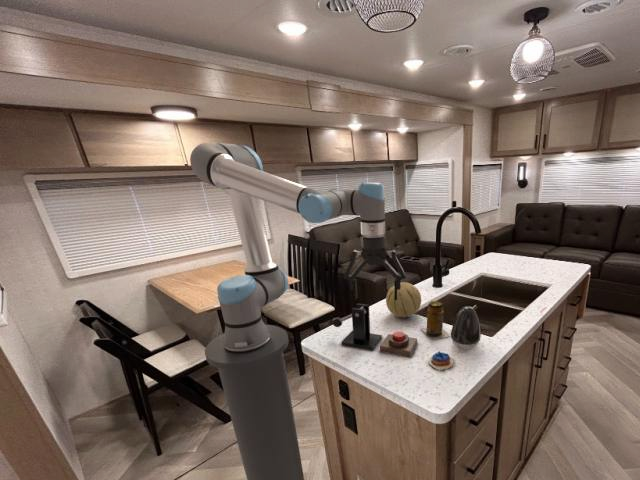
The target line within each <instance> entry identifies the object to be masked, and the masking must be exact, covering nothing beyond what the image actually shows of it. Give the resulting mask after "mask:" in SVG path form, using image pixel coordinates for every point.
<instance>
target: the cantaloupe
mask: <svg viewBox="0 0 640 480" xmlns="http://www.w3.org/2000/svg"><path fill="white" fill-rule="evenodd" d="M421 295H422V294H421V293H420V290H419V289H418V287H416V286H415V285H414V284H412V283H410V282H405V281H404V282H400V290H397V300H395V285H392V286H391V287H390V288H389V289H388V291H387V292H386V297H385V305H386V307H387V309H388V311H389V312H390V313H391V314H392V315H394V316H396V317H398V318H409V317H412V316H413V315H415V314H416V313H417V312H419V310H420V308H421V304H422V296H421Z"/></svg>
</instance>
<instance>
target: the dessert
mask: <svg viewBox="0 0 640 480" xmlns="http://www.w3.org/2000/svg"><path fill="white" fill-rule="evenodd" d="M428 362H429V365H430V366H431V367H433V368H434V369H436V370H438V371H443V370H446V369H450V368H451V367H453V366H454V360H453V359H452V358H451V357H450V355H449V353H446V352H441V351H440V350H438V352H435V353H434V354H433V355H432V356H430V357H429V359H428Z"/></svg>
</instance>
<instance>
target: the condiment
mask: <svg viewBox="0 0 640 480" xmlns="http://www.w3.org/2000/svg"><path fill="white" fill-rule="evenodd" d="M443 324H444V305H443V303H442V302H441V301H437V300H433V301H432V300H431V301H430V302H429V303H428V308H427V312H426V328H421V330H422V332H423V333H424V335H426V336H427V337H428V338H429V339H430V340H437V339H438V340H439V339H443V338H448V337H449V335H448V334H447V333H446V332H445V331H444V330H443V327H444V325H443Z"/></svg>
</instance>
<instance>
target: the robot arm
mask: <svg viewBox="0 0 640 480" xmlns="http://www.w3.org/2000/svg"><path fill="white" fill-rule="evenodd" d="M189 162H190V167H191V169H192V171H193V173H194V174H195V176H196V177H197V178H198V179H199V180H201V181H202V182H204V183H206V184H209V185H211V186H214V187H217V188H219V189H221V190H222V192H224V193H226V194H227V196H229V201H230V204H231V209H232V212H233V216H234V220H235V223H236V227H237V231H238V235H239V237H240V242H241V246H242V250H243V253H244V257H245V260H246V266H245V268H244V269H243V270H244V271H243V272H244V274H239V275H235V276H230V277H228V278H226V279H223V280H222V281H221V282H220V283H219V284H218V285H217V288H216V290H217V291H216V292H217V301H218V303H219V306H220V310H221V314H222V318H223V323H224V333H225V338H224V340H223V345H224V348H225V350H226V351H228V352H230V353H248V352H252V351H255V350H258V349H260V348H262V347H264V346H265V345H267V344H268V343H269V342H270V340H271V336H270V332H269V330H268V329H267V327H266V325H267V324H266V323H265V322H264V321H263V318H262V312H261V308H263V307H265V306H266V305H269V304H270V303H272V302H273V301H275V300H278V299H279V298H281V296H283V295H284V294H285V293H286V292H287V290H288V287H289V279H288V275H287V274H286V272H285V271H284V270H283V269H282V268H280V267H279V263H277V262H276V261H274V260H273V258H272V253H271V248H270V244H269V241H268V236H267V231H266V228H265V224H264V219H263V214H262V211H261V206H260V202H259V200H262V201H265V202H266V203H269V204H272V205H275V206H278V207H280V208H282V209H286V210H289V211H291V212H294V213H297V214H299V215H300V217H302V218H303V220H304V221H306V222H307V223H310V224H320V223H324V222H327V221H329V220H332V219H336V218H338V217H342V216H359V219H360V234H361V235H362V236H361V237H360V238H361V251H360V250H357V249H353V251H352V252H351V260H349V261H350V262H349V264H348V265H347V268H346V270H345V273H344V275H343V280H348V282H349V289H350V290H351V291H353V300H354V301H357V299H358V284H357V283H358V282H357V278H356V277H357V276H358V275H359V273H360V272H361V271H362V270H363V269H364V267H365V266H366V265H369V266H373V265H374V266H380V265H381V266H383V267H384V268H385V269H386V270H387V271H388V272H389V274H390V275H391V276H392V277H393V278H394V280H393V281H394V285H395V300H397V290H400V283H401V282H402V280H405V279H406V278H407V274H406V272H405V270H404V268H403V266H402V264H401V263H400V261H399V259H398V257H397V251H396V250H395V249H392V250H389V251H388V250H387V244H386V243H387V242H386V241H387V240H386V215H385V214H386V202H385V201H386V198H385V187H384V185H383V183H381V182H360V183H359V184H358V188H357V189H341V188H339V189H338V188H330V189H324V190H323V191H319V190H316V189H314V188H312V187H308V186H306V185H304V184H300V183H297V182H294V181H292V180H289V179H286V178H284V177H280V176H277V175H275V174H272V173H269V172H266V171H264V168H263V167H264V165H263V163H262V160H261V158H260V157H259V155H258V153H257V152H256V151H255V150H253V149H252V148H250V147H249V146H246V145H243V144H239V143H226V142H225V143H224V142H211V141H209V142H202V143H200V144H198V145H196V147H194V148H193V149H192V150H191V154H190V159H189ZM387 256H389V258H390V259H392V262H393V264H394V265H395V266H396V269H397V270H396V269H394V267H392V265H391V264H390V263H389V262H388V260H387V259H386V258H387ZM359 257H361V258H362V259H363V260H362V261H361V263H360V264H359V265H358V266H357V267H356V269H355V270H354V271H353V272H352V274H350V273H351V271H352V270H353V266H354V265H355V262H356V260H357V259H358V258H359ZM397 271H398V272H397ZM394 285H393V286H394Z"/></svg>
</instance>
